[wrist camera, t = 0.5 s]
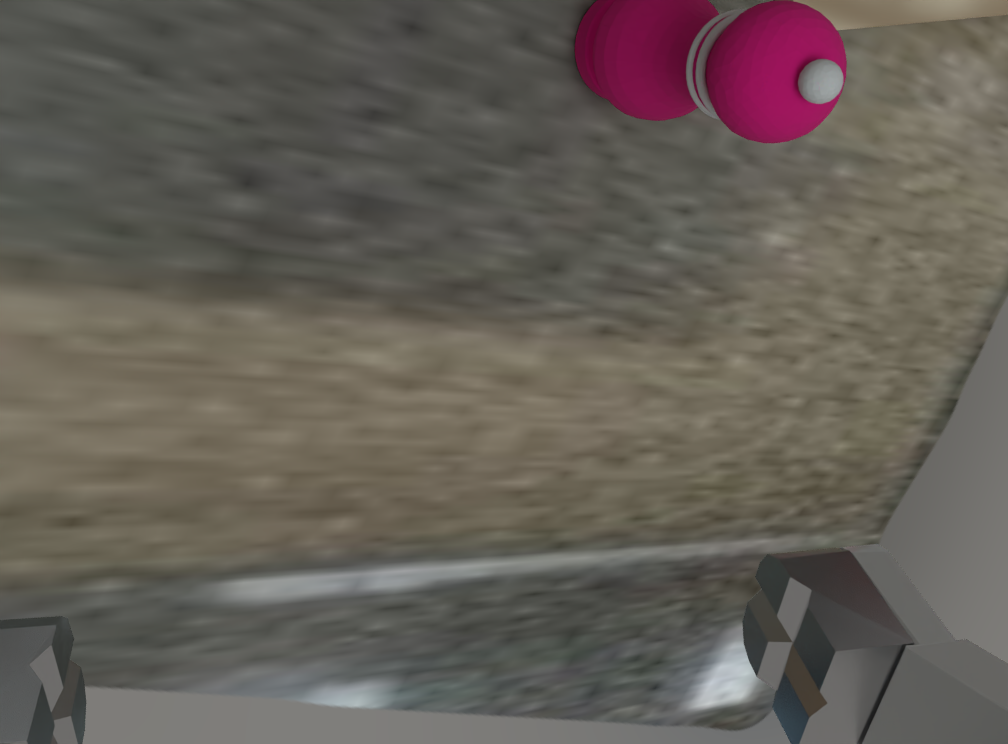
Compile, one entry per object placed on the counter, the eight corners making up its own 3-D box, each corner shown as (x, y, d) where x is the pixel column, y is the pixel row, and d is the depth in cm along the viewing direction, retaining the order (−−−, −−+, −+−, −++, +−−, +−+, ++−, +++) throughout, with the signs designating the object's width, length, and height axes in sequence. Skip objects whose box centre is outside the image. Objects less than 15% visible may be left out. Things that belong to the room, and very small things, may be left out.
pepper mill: (700, 28, 57) (939, 56, 39) (632, 132, 58) (835, 205, 41) (612, -48, 54) (831, -53, 36) (542, 64, 55) (721, 112, 37)
